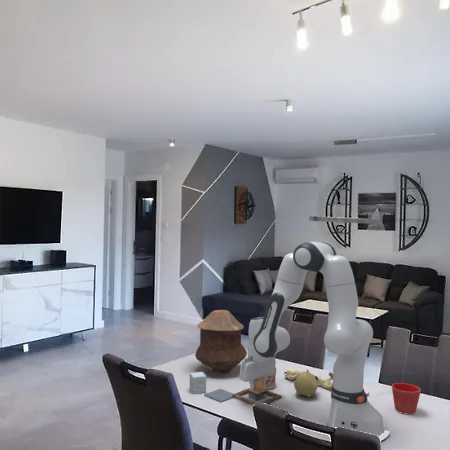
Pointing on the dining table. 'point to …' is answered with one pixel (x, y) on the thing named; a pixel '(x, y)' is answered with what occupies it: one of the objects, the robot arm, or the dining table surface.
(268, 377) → the teacup with lid
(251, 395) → the grey square block
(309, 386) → the toy pig
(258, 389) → the tan domed square base
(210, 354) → the pottery vessel
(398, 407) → the flower pot
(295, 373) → the cat figure
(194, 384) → the product box
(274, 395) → the frame
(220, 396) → the pad
